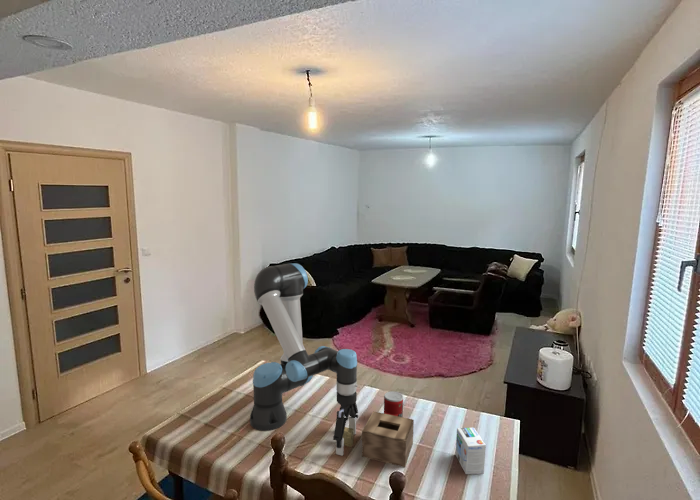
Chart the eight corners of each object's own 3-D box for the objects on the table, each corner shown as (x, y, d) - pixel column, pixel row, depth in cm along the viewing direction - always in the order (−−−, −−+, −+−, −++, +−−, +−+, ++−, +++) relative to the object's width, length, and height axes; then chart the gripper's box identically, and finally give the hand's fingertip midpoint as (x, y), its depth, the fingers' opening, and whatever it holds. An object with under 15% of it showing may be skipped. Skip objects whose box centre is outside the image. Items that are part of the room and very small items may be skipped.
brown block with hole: (361, 456, 142) (362, 431, 141) (372, 434, 155) (373, 411, 154) (405, 467, 137) (405, 441, 136) (412, 443, 150) (413, 419, 149)
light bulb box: (454, 454, 144) (456, 427, 143) (472, 453, 145) (474, 426, 143) (465, 475, 134) (467, 446, 132) (484, 474, 134) (486, 445, 133)
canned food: (401, 426, 161) (402, 401, 160) (382, 424, 163) (383, 399, 161) (403, 416, 169) (403, 392, 167) (384, 414, 170) (385, 390, 169)
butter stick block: (338, 444, 149) (338, 429, 149) (341, 440, 152) (341, 426, 151) (351, 447, 148) (351, 432, 147) (353, 443, 150) (353, 428, 149)
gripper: (344, 409, 134) (343, 466, 137) (366, 378, 157) (365, 427, 160) (323, 405, 136) (324, 461, 139) (348, 375, 160) (348, 423, 162)
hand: (346, 443), depth 150 cm, fingers open, 13 cm apart
